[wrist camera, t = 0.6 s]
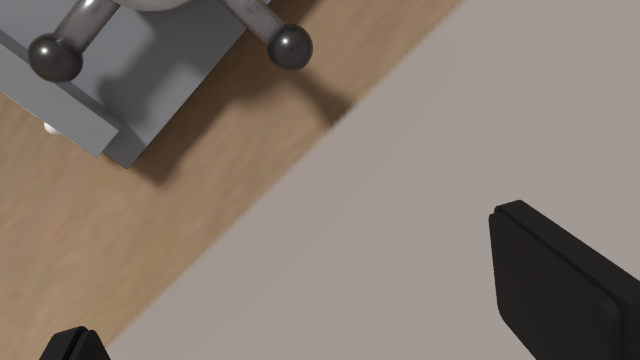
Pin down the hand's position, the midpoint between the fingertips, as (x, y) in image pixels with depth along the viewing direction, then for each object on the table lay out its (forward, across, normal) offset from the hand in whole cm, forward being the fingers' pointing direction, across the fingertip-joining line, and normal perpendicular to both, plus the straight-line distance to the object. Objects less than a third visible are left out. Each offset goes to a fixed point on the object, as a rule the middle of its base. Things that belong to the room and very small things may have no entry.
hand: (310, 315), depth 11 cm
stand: (+27, +5, -10) cm, 29 cm away
